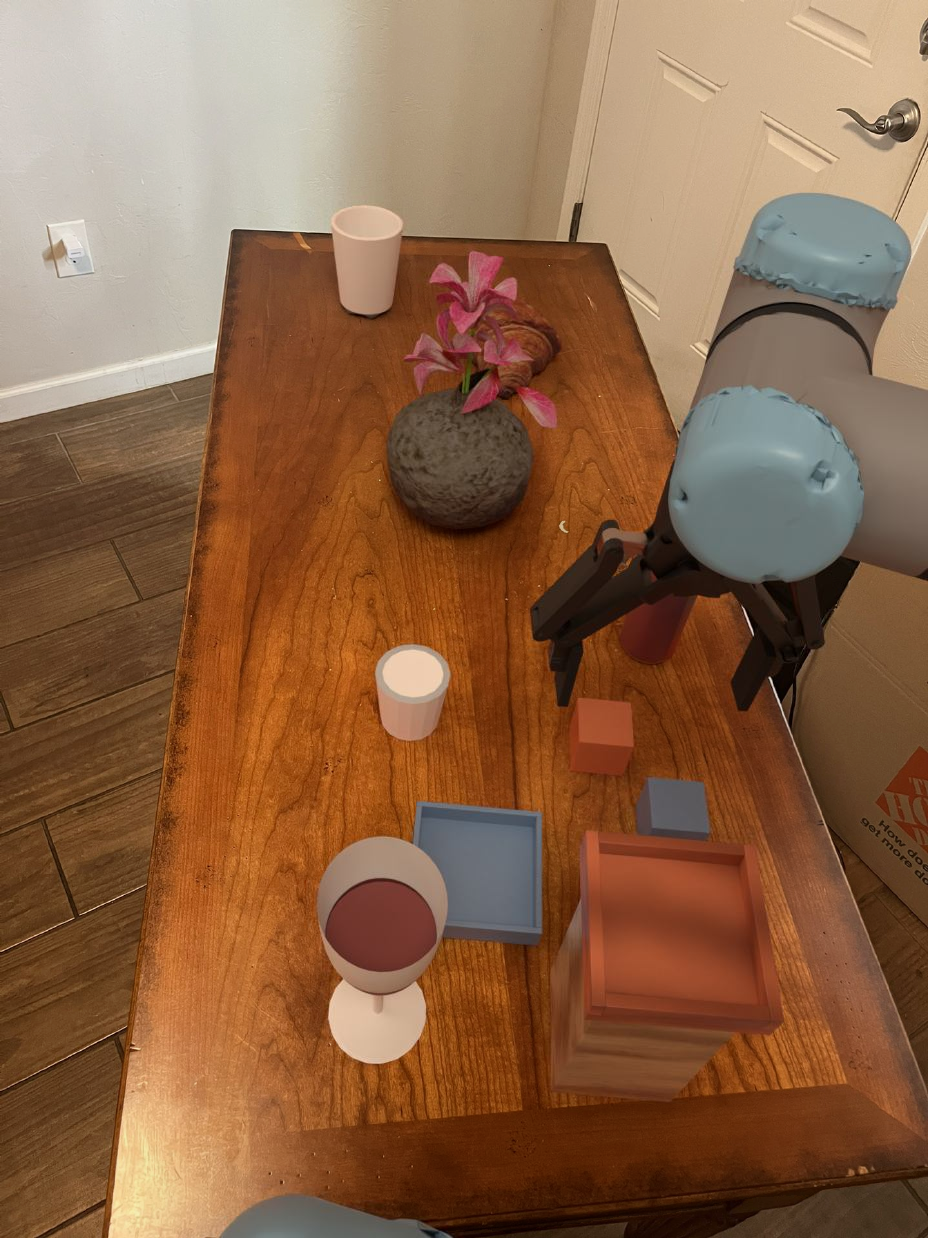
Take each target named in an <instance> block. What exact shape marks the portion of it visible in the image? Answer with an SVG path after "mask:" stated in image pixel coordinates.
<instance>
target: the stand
mask: <svg viewBox="0 0 928 1238" xmlns="http://www.w3.org/2000/svg"><path fill="white" fill-rule="evenodd" d="M578 849H579V850H578V851H579V874H580V875H579V880H580V882H579V883H580V899H579V902H578V903H577V907H576V909H575V911H574V914H573V916H572V919H571V921H570V923H569V926H568V928H567V930H566V933H565V935H564V938H563V940H562V943H561V945H560V948H559V949H558V952H557V955H556V957H555V960H554V962H553V964H552V967H551V969H550V971H549V982H550V983H549V987H550V991H549V994H550V995H549V996H550V997H549V998H550V1000H549V1001H550V1010H549V1011H550V1013H549V1014H550V1093H557V1094H566V1095H567V1094H568V1095H579V1096H593V1097H605V1098H617V1099H627V1100H628V1099H629V1100H640V1101H641V1100H642V1101H651V1102H652V1101H653V1102H665V1103H671V1102H672V1101H673V1100H674V1099H675V1098H676V1097H677V1096H678V1095H679V1094H680V1093H681V1091H682V1090H683V1089H684V1088H685V1087H686V1086H687V1085H688V1084H689V1083H690V1082H691V1081H692V1080H693V1079H694V1078H695V1077H696V1076H697V1074H699V1072H700V1071H702V1069H704V1068H705V1066H706V1065H707V1064H708V1063H709V1062H710V1061H711V1059H713V1057H714V1056H715V1055H716V1054H717V1053H718V1052H719V1051H720V1050H721V1049H722V1048H723V1047H724V1046H725V1045H726V1043H728V1041H729V1040H730V1039H732V1037H733V1036H734V1035H735V1034H736V1033H737V1034H748V1035H759V1036H760V1035H761V1036H771V1035H773V1033H774V1032H775V1031H776V1030H777V1029H778V1028H779V1027H780V1026H781V1025H783V1023H784V1022H785V1017H784V1011H783V1005H782V999H781V993H780V987H779V982H778V981H779V980H778V974H777V968H776V962H775V957H774V951H773V945H772V938H771V933H770V927H769V921H768V915H767V908H766V903H765V896H764V890H763V883H762V878H761V872H760V866H759V861H758V860H759V859H758V854H757V847H756V845H753V844H743V843H731V842H720V841H710V840H706V841H700V840H689V839H678V838H667V837H656V836H645V835H638V834H633V833H622V832H611V831H598V830H590V829H589V830H588V829H587V830H585V832H584V835H583V838H582V841H581V843H580V846H579V848H578Z"/></svg>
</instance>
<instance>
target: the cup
mask: <svg viewBox="0 0 928 1238" xmlns="http://www.w3.org/2000/svg"><path fill="white" fill-rule="evenodd" d="M330 227H331V235H332V243H333V244H332V245H333V251H334V261H335V268H336V277H337V278H336V279H337V285H338V286H337V287H338V294H339V301H340V304H341V305H342V306H343V308H344V310H345V311H346V313H347V314H349V315H356V314H358V315H362V316H365V317H366V318H367V319H370V320H371V319H375V318H377V316H379V315H381V314H382V313H387V312H388V313H389V312H390V311H391V309H392V307H393V301H394V295H395V289H396V280H397V274H398V266H399V259H400V252H401V245H402V238H403V230H404V221H403V219H402V218H401V217H400V216H399V215H398V214H396V213H395V212H394V211H391V210H389V209H387V208H383V207H381V206H376V205H367V204H365V205H361V204H360V205H352V206H351V205H350V206H347V207H343V208H341V209H340V210H338V211H336V212H335V213H334V214H333V215H332V216H331V219H330Z"/></svg>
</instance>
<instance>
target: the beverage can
mask: <svg viewBox="0 0 928 1238" xmlns="http://www.w3.org/2000/svg"><path fill="white" fill-rule="evenodd" d="M651 577H652V581H653V582H655V581H656V580H657V578H656V577H655V575H654V574H653V572H652V571H651ZM698 596H699V595H694V596H687V597H674V596H673V594H670V595H668V596H667V597H665V598H663V599H662V600H660V601H658V602H656V603H655V604H653V605H648V604H646V603H644V604H642V605H641V606H639V607H637V608H636V609H634V610H632V611H631V612H629V613H627V614H626V615H625V616H624V617H625V618H624V621H623V624H622V627H621V630H620V632H619V633H620V634H619V640H620V643H621V646H622V648H623V650H624V651H625V653H626V654H627V655H628V656H629V657H631V658H632V659H633V660H634V661H637V662H639V663H642V664H647V665H656V664H661V663H663V662H666V661H667V660H669V659H671V658H672V657H673V656H674V654H675V652H676V651H677V648H678V645H679V642H680V640H681V638H682V635H683V634H684V630H685V628H686V625H687V623H688V620H689V618H690V616H691V613H692V610H693V608H694V606H695V603H696V600H697V598H698Z"/></svg>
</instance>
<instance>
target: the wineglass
mask: <svg viewBox="0 0 928 1238" xmlns="http://www.w3.org/2000/svg"><path fill="white" fill-rule="evenodd" d="M447 909H448V900H447V891H446V887H445V883H444V881H443V878H442V875H441V873H440V871H439V870H438V868H437V866H436V865H435V863H434V862H433V861H432V860H431V858H430V857H429V856H428V855H427V854H425V853H424V852H423V851H422V850H421V849H419V848H418V847H416V846H415V845H413V843H411V842H409V841H408V840H405V839H400V838H398V837H394V836H393V837H392V836H373V837H366V838H364V839H360V840H358V841H356V842H354V843H352V844H350V845H348V846H346V847H345V848H344V849H342V850H341V851H340V852H339V853H338V854H336V856H335V857H334V858H333V859H332V860H331V861H330V863H329V864H328V865H327V867H326V869H325V870H324V873H323V875H322V877H321V880H320V883H319V885H318V890H317V897H316V910H317V918H318V919H317V920H318V926H319V931H320V936H321V940H322V944H323V947H324V951H325V953H326V955H327V957H328V959H329V961H330V963H331V965H332V966H333V968H334V969H335V971H336V972H337V974H338V975H339V976H340V977H341V978H342V980H341V981H340V982H339V983H338V985H337V986H336V987H335V989H334V991H333V993H332V996H331V998H330V1001H329V1005H328V1006H329V1007H328V1017H327V1020H328V1024H329V1028H330V1033H331V1035H332V1038H333V1039H334V1040H335V1042H336V1044H337V1046H338V1047H339V1049H341V1050H342V1051H343V1052H344V1053H346V1054H347V1055H348V1056H349V1057H350V1058H352V1059H354V1060H357V1061H360V1062H362V1063H364V1064H376V1065H378V1064H382V1065H383V1064H386V1063H390V1062H392V1061H396V1060H399V1059H400V1058H401V1057H402V1056H404V1055H406V1054H407V1053H408V1052H410V1051H411V1050H412V1049H413V1047H415V1045H416V1043H417V1042H418V1041H419V1039H420V1038H421V1036H422V1033H423V1031H424V1028H425V1024H426V1021H427V1003H426V1001H425V997H424V993H423V989H421V987H420V986H419V984H418V983H417V980H418V979H419V978H420V977H421V976H422V975H423V974H424V973H425V972H426V970H427V969H428V967H429V966H430V965H431V962H432V961H433V959H434V957H435V955H436V954H437V951H438V948H439V946H440V943H441V941H442V938H443V937H442V934H443V930H444V926H445V922H446V917H447Z"/></svg>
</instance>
